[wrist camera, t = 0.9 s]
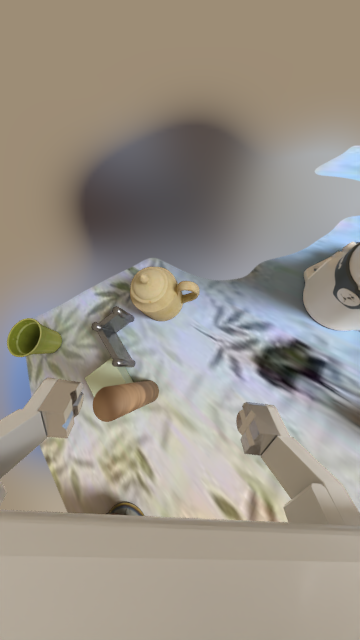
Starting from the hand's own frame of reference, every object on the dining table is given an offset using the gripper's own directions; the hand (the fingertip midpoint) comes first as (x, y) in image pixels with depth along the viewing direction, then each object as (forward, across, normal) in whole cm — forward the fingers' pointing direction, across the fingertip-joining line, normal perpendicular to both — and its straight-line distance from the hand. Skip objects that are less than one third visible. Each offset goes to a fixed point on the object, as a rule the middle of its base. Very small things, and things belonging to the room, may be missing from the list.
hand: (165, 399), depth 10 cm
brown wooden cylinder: (+25, 0, +31) cm, 40 cm away
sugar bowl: (+41, -2, +13) cm, 43 cm away
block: (+28, +9, +32) cm, 44 cm away
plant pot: (+39, +28, +32) cm, 58 cm away
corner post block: (+35, +6, +24) cm, 43 cm away
